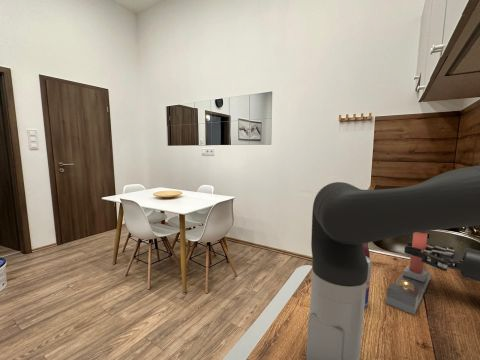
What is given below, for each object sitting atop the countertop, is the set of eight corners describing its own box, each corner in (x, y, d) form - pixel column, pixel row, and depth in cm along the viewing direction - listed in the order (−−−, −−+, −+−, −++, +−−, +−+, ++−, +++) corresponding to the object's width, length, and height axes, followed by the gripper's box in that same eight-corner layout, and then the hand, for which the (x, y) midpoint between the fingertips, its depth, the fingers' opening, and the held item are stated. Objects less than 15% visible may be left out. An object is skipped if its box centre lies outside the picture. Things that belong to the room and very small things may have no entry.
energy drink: (353, 310, 60) (357, 264, 58) (340, 297, 65) (343, 254, 64) (372, 307, 61) (377, 262, 59) (358, 294, 67) (362, 252, 65)
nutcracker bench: (414, 315, 59) (416, 293, 58) (385, 303, 63) (388, 283, 62) (429, 279, 74) (432, 262, 73) (406, 272, 78) (408, 255, 78)
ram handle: (424, 282, 69) (431, 224, 66) (403, 275, 72) (409, 220, 70) (427, 275, 72) (434, 220, 70) (407, 269, 76) (413, 216, 73)
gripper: (491, 245, 65) (413, 229, 78) (490, 263, 56) (401, 241, 68) (486, 272, 67) (410, 251, 79) (485, 294, 57) (398, 267, 69)
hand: (406, 247), depth 73 cm, fingers closed on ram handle, 3 cm apart
